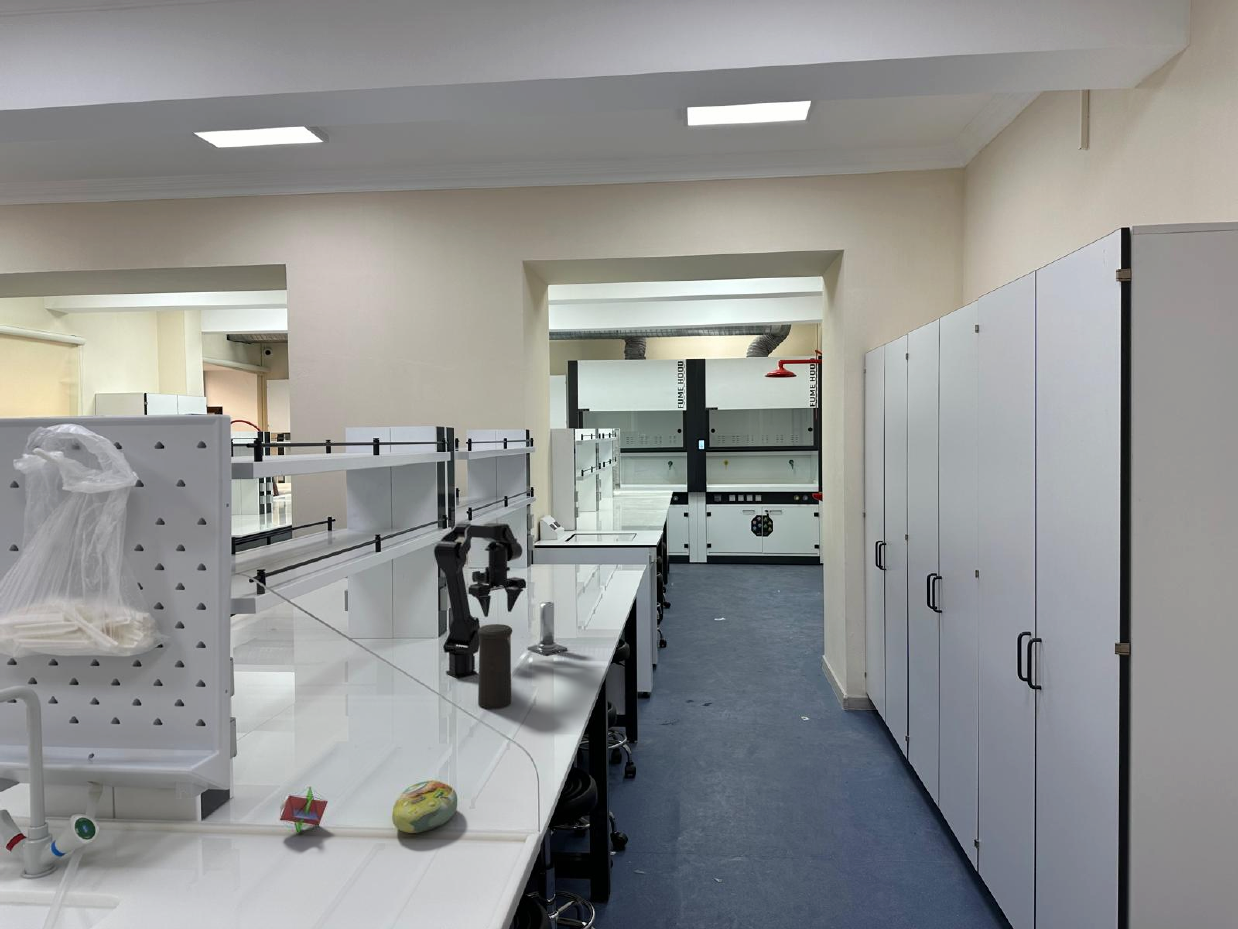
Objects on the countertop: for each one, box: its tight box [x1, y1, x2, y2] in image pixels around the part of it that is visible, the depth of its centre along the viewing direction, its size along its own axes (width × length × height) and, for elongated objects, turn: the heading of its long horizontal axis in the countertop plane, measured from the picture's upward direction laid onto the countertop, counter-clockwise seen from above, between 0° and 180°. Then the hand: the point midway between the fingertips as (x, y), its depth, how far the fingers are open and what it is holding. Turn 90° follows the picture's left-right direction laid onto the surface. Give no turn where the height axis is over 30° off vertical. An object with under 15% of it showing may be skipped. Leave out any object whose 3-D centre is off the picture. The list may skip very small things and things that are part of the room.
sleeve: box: [537, 601, 556, 650], centre depth 247 cm, size 6×6×14 cm
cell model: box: [391, 779, 458, 834], centre depth 138 cm, size 11×8×15 cm
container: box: [477, 623, 513, 710], centre depth 197 cm, size 9×9×20 cm
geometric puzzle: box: [279, 787, 329, 837], centre depth 134 cm, size 7×7×8 cm
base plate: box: [526, 644, 568, 656], centre depth 247 cm, size 9×9×1 cm
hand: (497, 614), depth 240 cm, fingers open, 9 cm apart
